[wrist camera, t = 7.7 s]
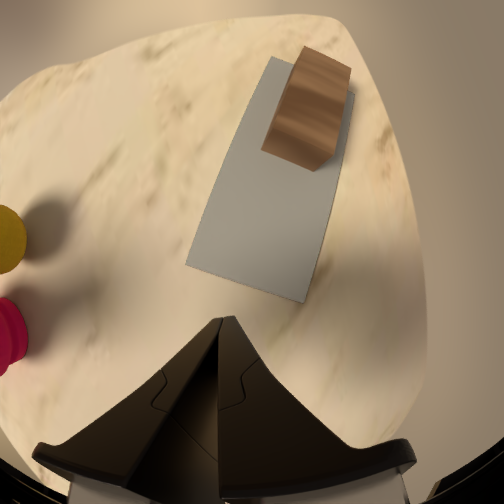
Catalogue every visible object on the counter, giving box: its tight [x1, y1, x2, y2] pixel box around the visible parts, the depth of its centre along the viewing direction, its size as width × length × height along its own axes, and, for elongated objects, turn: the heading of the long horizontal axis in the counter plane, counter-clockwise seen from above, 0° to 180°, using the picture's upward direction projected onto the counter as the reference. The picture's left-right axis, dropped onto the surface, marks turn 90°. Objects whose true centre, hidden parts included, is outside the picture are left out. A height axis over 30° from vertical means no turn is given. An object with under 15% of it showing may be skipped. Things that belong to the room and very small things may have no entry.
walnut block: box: [261, 46, 351, 172], centre depth 21 cm, size 4×5×11 cm
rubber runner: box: [185, 56, 355, 304], centre depth 23 cm, size 23×10×1 cm, turn 162°
